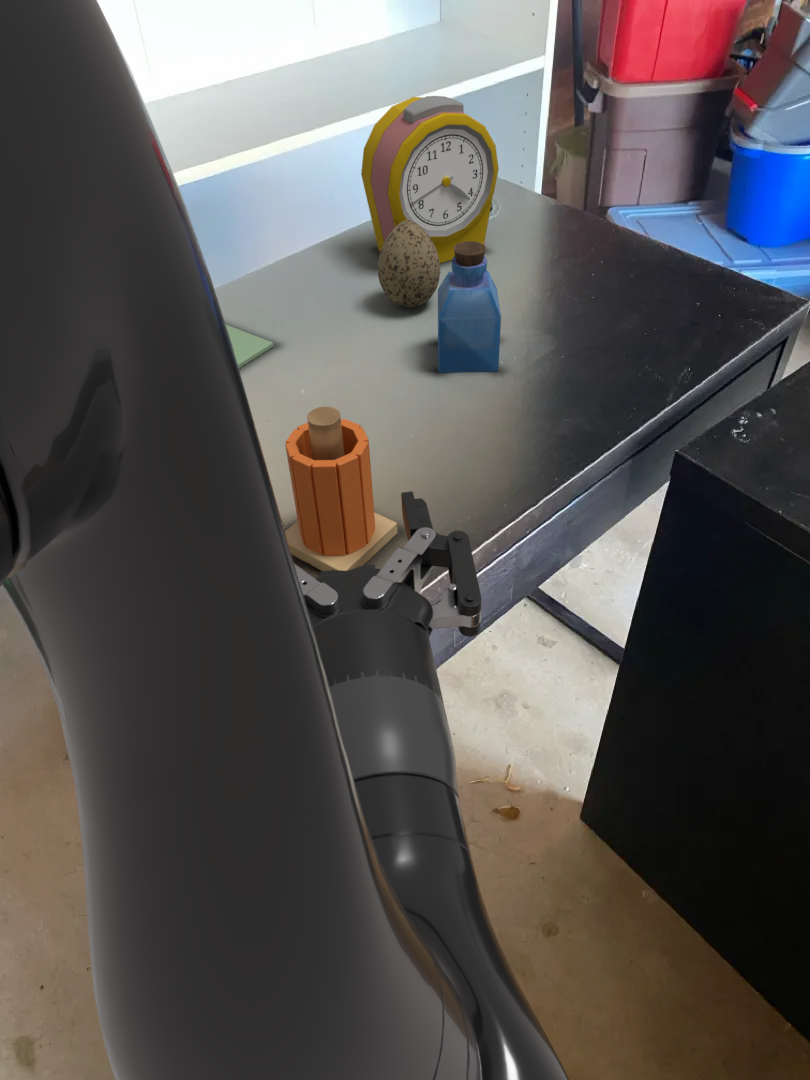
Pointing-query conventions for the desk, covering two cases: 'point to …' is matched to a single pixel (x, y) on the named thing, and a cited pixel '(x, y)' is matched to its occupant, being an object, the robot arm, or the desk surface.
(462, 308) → the perfume bottle
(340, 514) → the orange stave pencil cup
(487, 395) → the desk surface
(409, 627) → the robot arm
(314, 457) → the stand
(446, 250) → the alarm clock
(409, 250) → the decorative egg
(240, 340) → the mat
